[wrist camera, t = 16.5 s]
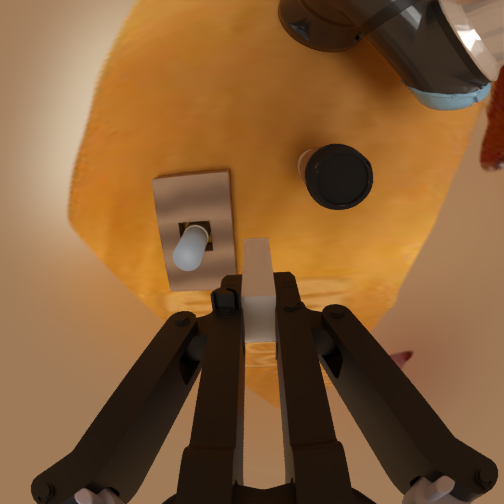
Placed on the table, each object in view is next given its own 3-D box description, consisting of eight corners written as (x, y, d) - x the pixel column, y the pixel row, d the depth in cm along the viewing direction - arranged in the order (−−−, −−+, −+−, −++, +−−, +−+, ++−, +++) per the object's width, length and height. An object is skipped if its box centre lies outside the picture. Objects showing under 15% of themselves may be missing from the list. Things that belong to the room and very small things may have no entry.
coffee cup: (346, 173, 45) (386, 190, 31) (307, 199, 46) (332, 227, 33) (321, 131, 42) (354, 131, 28) (279, 159, 44) (295, 169, 30)
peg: (186, 218, 47) (169, 244, 36) (210, 216, 47) (199, 242, 36) (189, 240, 49) (174, 271, 38) (212, 239, 49) (203, 270, 38)
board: (159, 175, 44) (151, 179, 40) (229, 168, 44) (228, 171, 40) (175, 280, 52) (170, 291, 48) (237, 277, 52) (237, 289, 48)
